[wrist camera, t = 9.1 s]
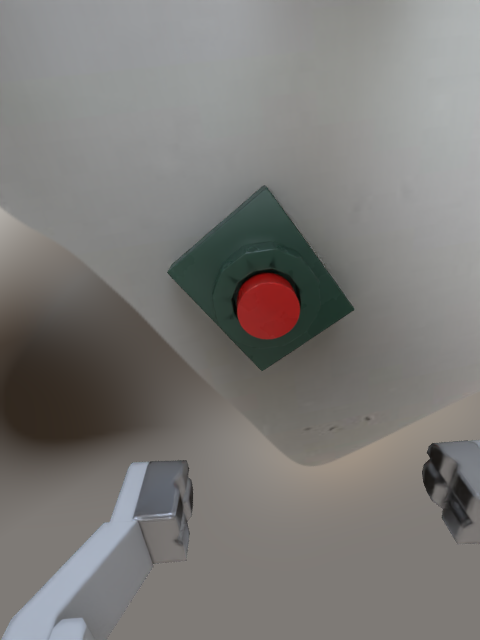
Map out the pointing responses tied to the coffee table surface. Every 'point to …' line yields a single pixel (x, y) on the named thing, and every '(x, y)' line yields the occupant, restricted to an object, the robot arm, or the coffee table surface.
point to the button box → (254, 258)
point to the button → (267, 306)
